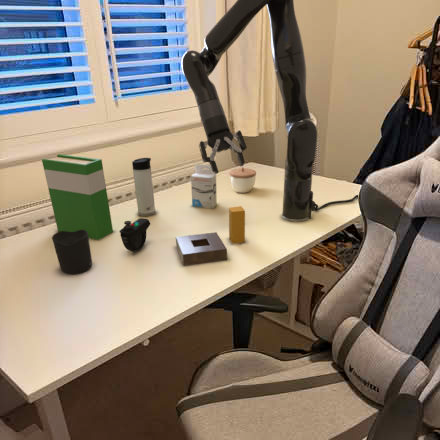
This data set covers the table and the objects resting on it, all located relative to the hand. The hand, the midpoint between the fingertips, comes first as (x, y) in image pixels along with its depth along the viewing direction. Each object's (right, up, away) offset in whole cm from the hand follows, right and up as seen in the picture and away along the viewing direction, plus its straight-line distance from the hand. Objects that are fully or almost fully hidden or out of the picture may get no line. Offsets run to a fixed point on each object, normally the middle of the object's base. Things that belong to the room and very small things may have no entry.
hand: (229, 169), depth 139 cm
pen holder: (-44, -32, -13) cm, 56 cm away
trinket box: (+6, +3, +44) cm, 45 cm away
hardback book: (-48, -18, +10) cm, 53 cm away
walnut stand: (-9, -27, -7) cm, 29 cm away
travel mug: (-30, -10, +24) cm, 39 cm away
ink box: (-9, -6, +30) cm, 32 cm away
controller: (-28, -25, -3) cm, 38 cm away
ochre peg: (+2, -22, +1) cm, 22 cm away
